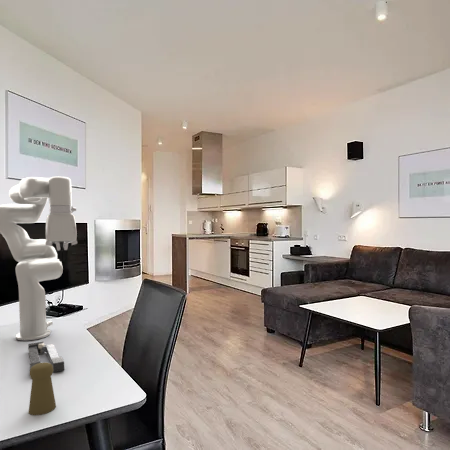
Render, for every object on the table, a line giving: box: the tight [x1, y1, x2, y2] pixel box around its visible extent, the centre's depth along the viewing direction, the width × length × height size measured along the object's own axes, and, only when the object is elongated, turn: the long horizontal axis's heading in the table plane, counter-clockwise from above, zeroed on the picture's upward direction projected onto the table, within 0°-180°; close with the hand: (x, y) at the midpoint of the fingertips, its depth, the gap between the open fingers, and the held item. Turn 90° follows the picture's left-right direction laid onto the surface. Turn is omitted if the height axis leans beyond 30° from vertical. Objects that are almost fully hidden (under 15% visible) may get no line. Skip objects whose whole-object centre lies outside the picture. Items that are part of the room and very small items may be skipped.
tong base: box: [27, 341, 45, 370], centre depth 120 cm, size 26×5×3 cm, turn 31°
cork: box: [28, 361, 57, 416], centre depth 89 cm, size 6×6×11 cm
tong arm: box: [38, 342, 65, 373], centre depth 120 cm, size 22×5×3 cm, turn 32°
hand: (62, 261), depth 133 cm, fingers closed
